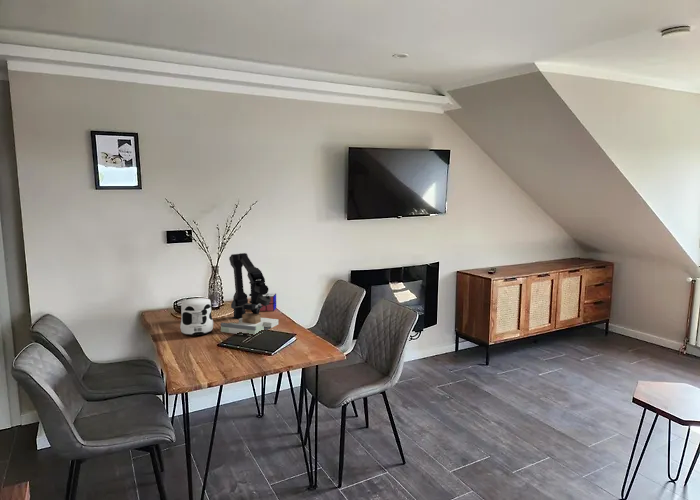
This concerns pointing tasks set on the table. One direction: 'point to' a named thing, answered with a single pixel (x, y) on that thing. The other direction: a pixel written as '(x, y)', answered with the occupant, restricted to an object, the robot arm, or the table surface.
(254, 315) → the walnut block
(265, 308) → the puzzle cube
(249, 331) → the board
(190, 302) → the milk container
